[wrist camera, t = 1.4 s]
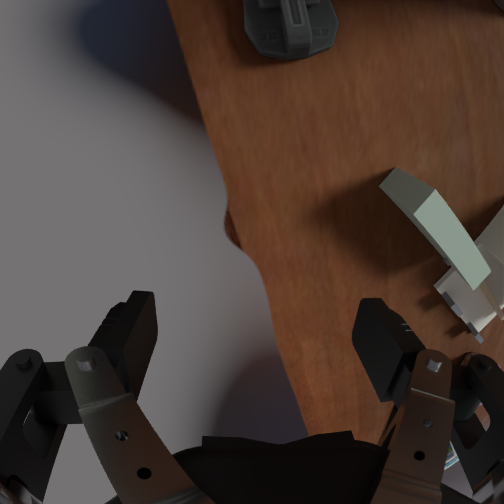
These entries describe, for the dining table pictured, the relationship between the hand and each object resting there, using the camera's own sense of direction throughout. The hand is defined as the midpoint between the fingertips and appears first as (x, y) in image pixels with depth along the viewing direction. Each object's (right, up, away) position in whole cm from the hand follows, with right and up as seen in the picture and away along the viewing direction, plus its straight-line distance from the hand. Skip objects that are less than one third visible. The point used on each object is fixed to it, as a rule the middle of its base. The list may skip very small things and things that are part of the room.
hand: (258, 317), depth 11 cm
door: (+20, +7, +20) cm, 29 cm away
